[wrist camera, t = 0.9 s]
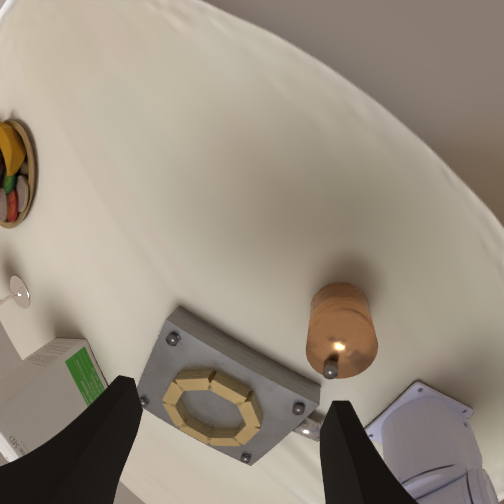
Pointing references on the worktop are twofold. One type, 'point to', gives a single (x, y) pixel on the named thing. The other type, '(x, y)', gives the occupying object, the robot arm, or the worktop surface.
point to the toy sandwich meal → (15, 173)
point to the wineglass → (18, 292)
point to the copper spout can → (340, 332)
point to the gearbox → (224, 390)
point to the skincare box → (46, 394)
